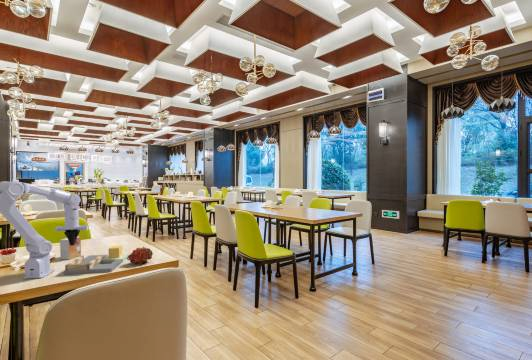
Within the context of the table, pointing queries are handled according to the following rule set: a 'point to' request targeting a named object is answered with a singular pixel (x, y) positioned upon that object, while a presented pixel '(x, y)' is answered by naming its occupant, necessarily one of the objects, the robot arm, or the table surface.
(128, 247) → the table surface
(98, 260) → the shallow brown tray
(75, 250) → the small box
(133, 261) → the red grape bunch
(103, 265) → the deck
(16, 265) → the table surface
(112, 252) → the cube
